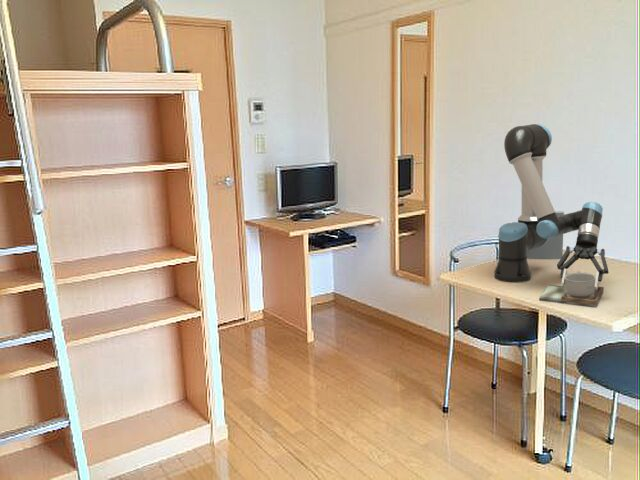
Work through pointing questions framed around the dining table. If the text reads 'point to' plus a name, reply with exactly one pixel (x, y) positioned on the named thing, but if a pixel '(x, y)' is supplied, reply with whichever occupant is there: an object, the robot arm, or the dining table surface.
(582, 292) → the teacup
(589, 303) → the board
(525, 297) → the dining table surface
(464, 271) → the dining table surface
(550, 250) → the flask
